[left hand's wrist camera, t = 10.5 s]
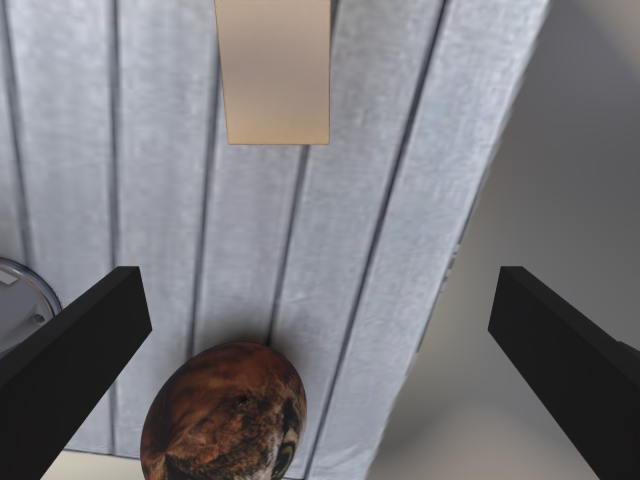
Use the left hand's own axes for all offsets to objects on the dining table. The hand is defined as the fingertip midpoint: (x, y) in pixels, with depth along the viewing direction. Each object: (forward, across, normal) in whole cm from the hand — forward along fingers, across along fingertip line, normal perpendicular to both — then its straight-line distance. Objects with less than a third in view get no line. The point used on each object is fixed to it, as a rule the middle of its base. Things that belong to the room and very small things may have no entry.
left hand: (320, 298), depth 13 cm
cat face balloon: (+29, +12, +29) cm, 43 cm away
